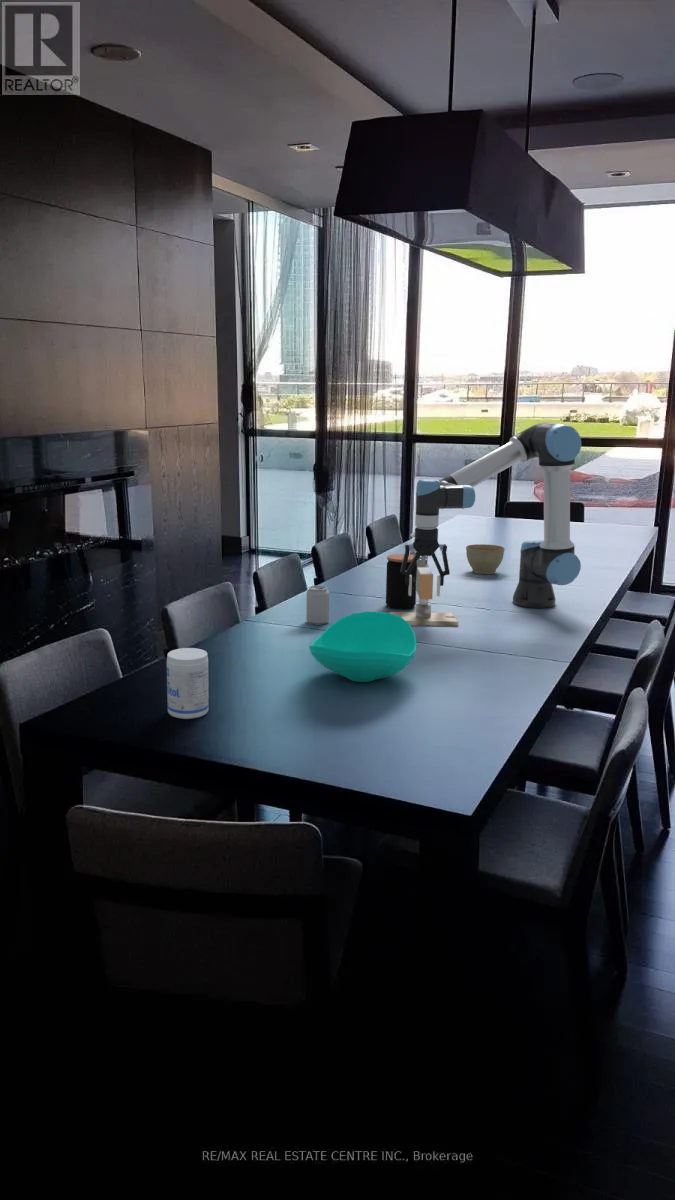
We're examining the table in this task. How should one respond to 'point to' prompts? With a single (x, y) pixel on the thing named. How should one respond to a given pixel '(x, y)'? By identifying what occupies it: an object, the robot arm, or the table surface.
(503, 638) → the table surface
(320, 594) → the can
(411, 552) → the french press
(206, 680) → the supplement tub
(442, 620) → the lock board
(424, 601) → the orange-capped white bar
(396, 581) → the coffee jar
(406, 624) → the table top decor
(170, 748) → the table surface
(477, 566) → the planter bowl
